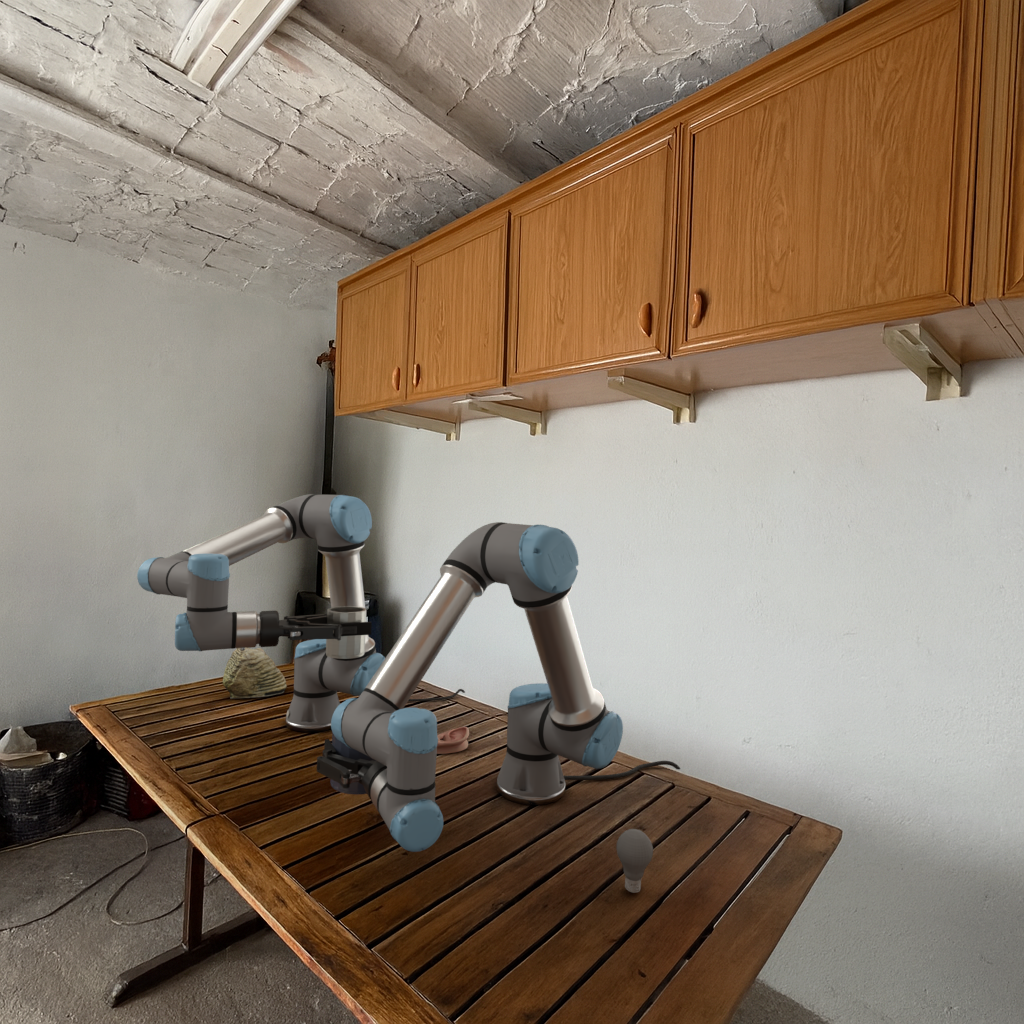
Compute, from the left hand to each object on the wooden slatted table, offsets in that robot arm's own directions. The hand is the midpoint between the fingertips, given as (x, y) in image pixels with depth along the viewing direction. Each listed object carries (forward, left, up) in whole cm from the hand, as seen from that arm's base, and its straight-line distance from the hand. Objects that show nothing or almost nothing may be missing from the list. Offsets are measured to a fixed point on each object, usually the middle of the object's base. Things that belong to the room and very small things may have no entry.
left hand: (366, 624), depth 143 cm
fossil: (-14, -70, -35) cm, 80 cm away
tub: (+12, +16, -27) cm, 33 cm away
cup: (+4, -2, -7) cm, 8 cm away
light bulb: (-5, +66, -35) cm, 75 cm away
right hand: (+11, +13, -20) cm, 26 cm away
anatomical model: (-26, 0, -35) cm, 44 cm away
